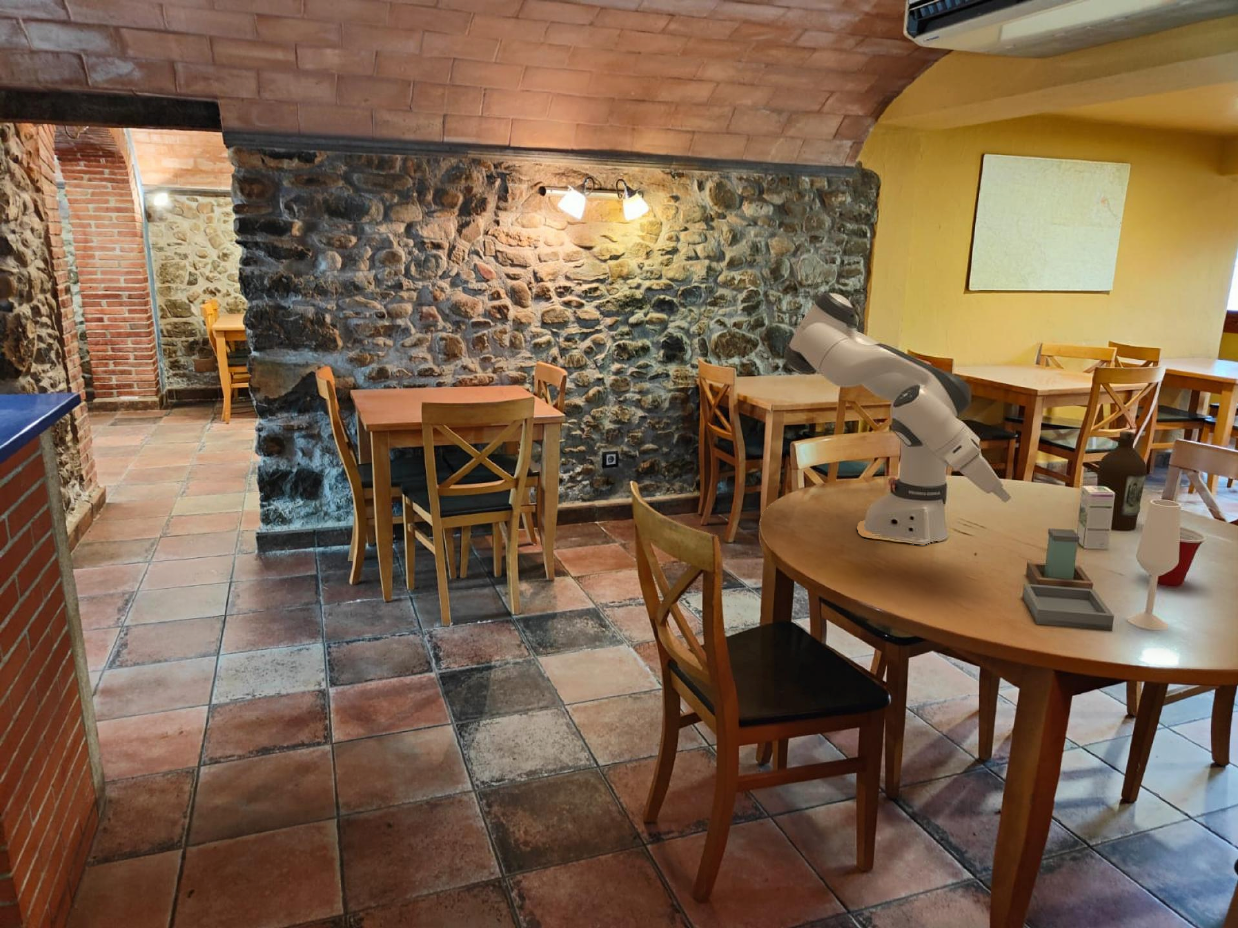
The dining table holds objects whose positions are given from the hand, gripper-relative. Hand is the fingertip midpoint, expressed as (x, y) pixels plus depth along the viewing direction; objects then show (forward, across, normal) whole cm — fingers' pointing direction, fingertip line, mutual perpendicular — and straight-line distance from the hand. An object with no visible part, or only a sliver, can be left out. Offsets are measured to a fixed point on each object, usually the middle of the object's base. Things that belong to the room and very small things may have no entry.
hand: (1003, 493), depth 169 cm
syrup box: (+33, -30, +4) cm, 44 cm away
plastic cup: (+39, -8, +10) cm, 41 cm away
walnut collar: (+23, 0, -6) cm, 24 cm away
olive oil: (+40, -48, +11) cm, 63 cm away
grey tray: (+22, +14, -7) cm, 27 cm away
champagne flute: (+32, +15, +3) cm, 35 cm away
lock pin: (+23, 0, -6) cm, 24 cm away
